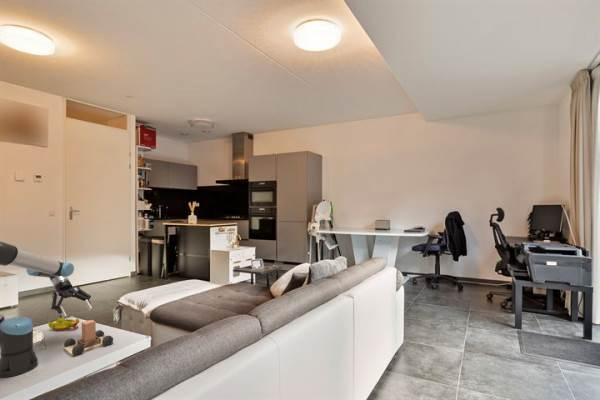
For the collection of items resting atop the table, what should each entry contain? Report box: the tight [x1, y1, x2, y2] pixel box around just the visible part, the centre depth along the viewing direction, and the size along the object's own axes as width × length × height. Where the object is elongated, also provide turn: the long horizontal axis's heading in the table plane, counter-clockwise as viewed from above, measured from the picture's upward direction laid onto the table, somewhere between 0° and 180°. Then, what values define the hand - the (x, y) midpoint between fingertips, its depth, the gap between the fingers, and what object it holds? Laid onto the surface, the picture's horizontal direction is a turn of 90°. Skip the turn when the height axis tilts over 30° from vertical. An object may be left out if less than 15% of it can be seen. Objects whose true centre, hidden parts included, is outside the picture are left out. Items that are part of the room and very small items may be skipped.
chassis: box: [63, 329, 114, 358], centre depth 177 cm, size 20×14×5 cm
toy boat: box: [47, 315, 80, 331], centre depth 203 cm, size 6×18×10 cm, turn 89°
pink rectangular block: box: [81, 319, 97, 343], centre depth 177 cm, size 5×5×12 cm
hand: (78, 313), depth 182 cm, fingers open, 13 cm apart
